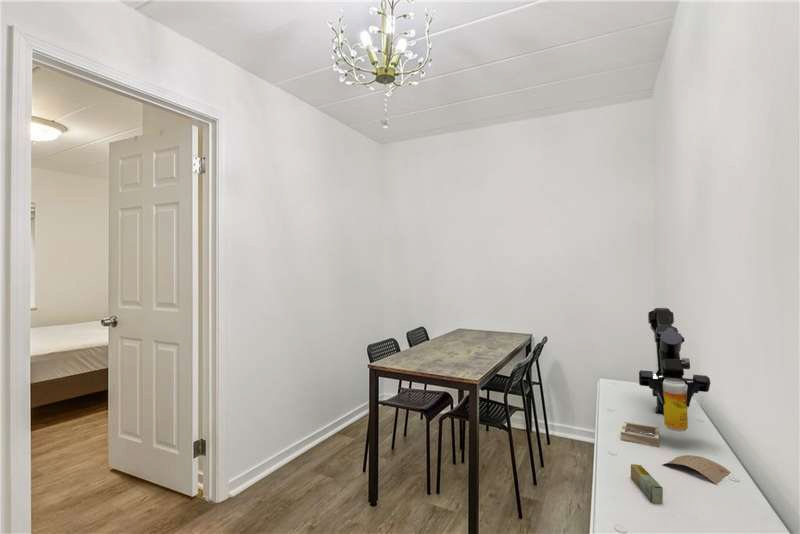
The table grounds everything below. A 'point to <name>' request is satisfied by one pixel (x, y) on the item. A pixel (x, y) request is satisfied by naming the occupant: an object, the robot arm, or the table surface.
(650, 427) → the tray
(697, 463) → the curved brown cardboard
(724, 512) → the table surface
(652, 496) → the medication box
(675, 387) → the beer can
